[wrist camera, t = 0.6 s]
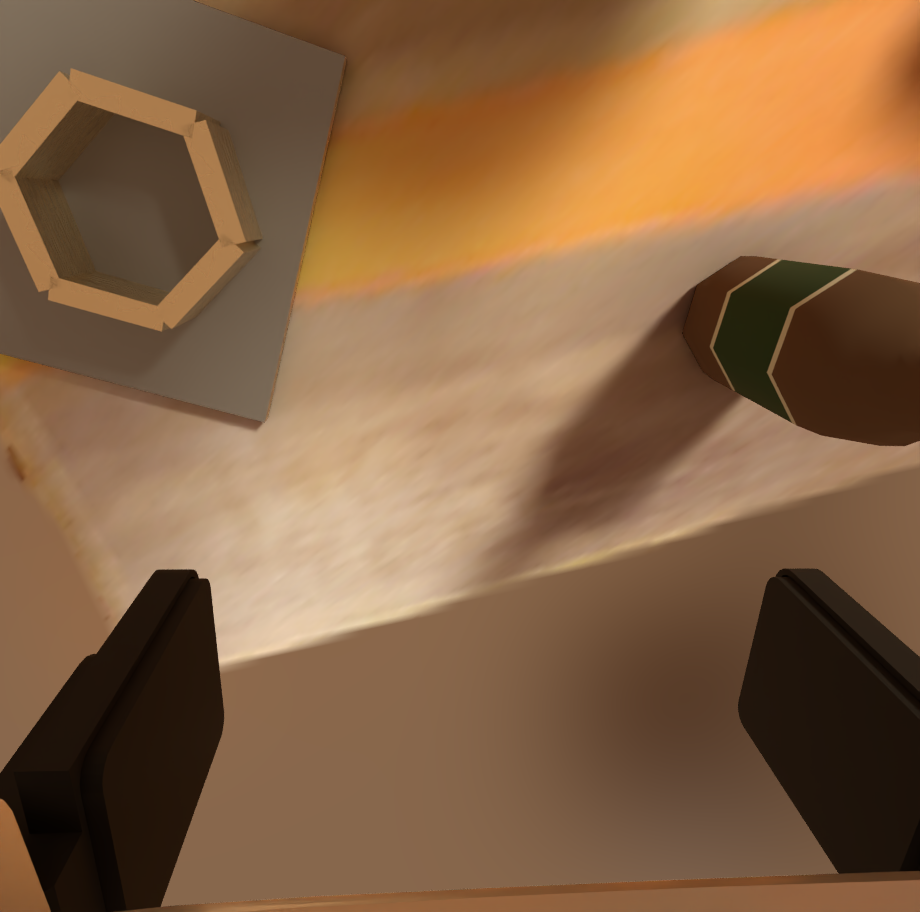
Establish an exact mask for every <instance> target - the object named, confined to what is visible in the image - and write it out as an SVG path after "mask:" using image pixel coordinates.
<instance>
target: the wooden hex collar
mask: <svg viewBox="0 0 920 912" xmlns="http://www.w3.org/2000/svg"><path fill="white" fill-rule="evenodd" d="M115 113H116V114H119V115H122V116H125V117H128V118H131V119H134V120H137V121H140V122H143V123H146V124H149V125H152V126H155V127H158V128H161V129H164V130H167V131H170V132H173V133H176V134H179V135H182V136H184V139H185V142H186V145H187V148H188V151H189V154H190V156H191V159H192V162H193V165H194V168H195V171H196V174H197V177H198V180H199V183H200V186H201V189H202V191H203V194H204V197H205V200H206V203H207V206H208V209H209V212H210V215H211V218H212V221H213V223H214V226H215V229H216V232H217V235H218V238H219V240H218V241H217V242H216V243H215V244H214V245H213V246H212V247H211V248H210V250H209V251H208V252H207V253H206V254H205V255H204V256H203V257H202V258H201V259H200V260H199V261H198V263H197V264H196V265H195V266H194V267H193V268H192V269H191V270H190V271H189V272H188V273H187V274H186V275H185V277H184V278H183V279H182V280H181V281H180V282H179V283H178V284H177V285H176V286H175V287H174V288H173V290H172V291H171V292H167V291H163V290H160V289H156V288H153V287H150V286H146V285H143V284H139V283H136V282H132V281H129V280H125V279H122V278H118V277H115V276H111V275H108V274H104V273H101V272H97V271H96V270H95V267H94V265H93V263H92V260H91V258H90V255H89V253H88V251H87V248H86V246H85V243H84V241H83V239H82V236H81V234H80V231H79V229H78V227H77V224H76V222H75V219H74V217H73V215H72V212H71V210H70V207H69V205H68V203H67V200H66V198H65V195H64V193H63V191H62V188H61V186H60V183H59V179H60V178H61V177H62V176H63V175H64V173H65V172H66V171H67V170H68V169H69V167H70V166H71V165H72V164H73V163H74V162H75V160H76V159H77V158H78V157H79V156H80V154H81V153H82V152H83V151H84V150H85V148H86V147H87V146H88V145H89V144H90V143H91V141H92V140H93V139H94V138H95V137H96V135H97V134H98V133H99V132H100V131H101V129H102V128H103V127H104V126H105V125H106V123H107V122H108V121H109V120H110V119H111V118H112V116H113V115H114V114H115ZM0 208H1V210H2V212H3V215H4V217H5V219H6V221H7V223H8V226H9V228H10V230H11V232H12V234H13V237H14V239H15V241H16V243H17V245H18V248H19V250H20V252H21V254H22V256H23V259H24V261H25V263H26V265H27V268H28V270H29V272H30V274H31V276H32V279H33V281H34V283H35V285H36V287H37V290H38V292H41V291H46V290H49V294H48V300H50V301H53V302H57V303H61V304H64V305H68V306H71V307H75V308H79V309H82V310H86V311H89V312H93V313H97V314H100V315H104V316H107V317H111V318H115V319H118V320H122V321H125V322H129V323H133V324H136V325H140V326H143V327H147V328H151V329H154V330H158V331H161V332H162V331H164V330H166V329H168V328H171V329H173V328H175V327H177V326H179V325H181V324H183V323H185V322H187V321H189V320H191V319H193V318H195V317H197V315H198V314H199V313H200V312H201V311H202V310H203V309H204V308H205V307H206V306H207V305H208V304H209V303H210V302H211V301H212V300H213V299H214V298H215V296H216V295H217V294H218V293H219V292H220V291H221V290H222V289H223V288H224V287H225V286H226V285H227V284H228V283H229V282H230V281H231V280H232V278H233V277H234V276H235V275H236V274H237V273H238V272H239V271H240V270H241V269H242V268H243V267H244V266H245V265H246V264H247V263H248V262H249V261H250V259H251V258H252V257H253V256H254V255H255V254H256V253H257V252H258V251H259V250H260V249H261V248H260V247H259V246H258V245H257V244H256V243H255V242H254V241H255V240H259V239H263V237H262V234H261V231H260V228H259V224H258V221H257V218H256V215H255V212H254V209H253V206H252V203H251V199H250V196H249V193H248V190H247V187H246V184H245V181H244V177H243V174H242V171H241V168H240V165H239V162H238V159H237V156H236V152H235V149H234V146H233V143H232V140H231V137H230V134H229V131H228V130H227V129H224V128H222V127H220V121H218V120H215V119H213V118H211V117H209V116H207V115H205V114H203V113H201V112H199V111H197V110H194V109H191V108H188V107H185V106H182V105H179V104H176V103H173V102H170V101H167V100H164V99H161V98H158V97H155V96H152V95H149V94H146V93H143V92H140V91H137V90H134V89H131V88H128V87H125V86H122V85H119V84H116V83H113V82H110V81H107V80H105V79H102V78H99V77H96V76H93V75H90V74H87V73H84V72H81V71H78V70H75V69H72V68H71V70H70V75H68V74H66V73H63V72H61V71H59V72H58V73H57V74H56V76H55V77H54V78H53V79H52V81H51V82H50V83H49V84H48V86H47V87H46V88H45V89H44V91H43V92H42V93H41V94H40V96H39V97H38V98H37V99H36V100H35V102H34V103H33V104H32V105H31V107H30V108H29V109H28V110H27V112H26V113H25V114H24V115H23V117H22V118H21V119H20V120H19V122H18V123H17V124H16V125H15V127H14V128H13V129H12V130H11V131H10V133H9V134H8V135H7V136H6V138H5V139H4V140H3V141H2V143H1V144H0Z"/></svg>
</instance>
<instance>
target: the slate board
mask: <svg viewBox="0 0 920 912" xmlns="http://www.w3.org/2000/svg"><path fill="white" fill-rule="evenodd" d="M346 62H347V59H346V57H345V56H344V55H341V54H338V53H336V52H333V51H330V50H327V49H325V48H322V47H319V46H316V45H314V44H311V43H308V42H306V41H303V40H300V39H297V38H295V37H292V36H289V35H286V34H284V33H281V32H278V31H275V30H273V29H270V28H267V27H264V26H262V25H259V24H256V23H253V22H251V21H248V20H245V19H242V18H240V17H237V16H234V15H232V14H229V13H226V12H223V11H221V10H218V9H215V8H212V7H210V6H207V5H204V4H201V3H199V2H196V1H193V0H0V144H1V143H2V141H3V140H4V139H5V138H6V136H7V135H8V134H9V133H10V131H11V130H12V129H13V128H14V127H15V125H16V124H17V123H18V122H19V120H20V119H21V118H22V117H23V115H24V114H25V113H26V112H27V110H28V109H29V108H30V107H31V105H32V104H33V103H34V102H35V100H36V99H37V98H38V97H39V96H40V94H41V93H42V92H43V91H44V89H45V88H46V87H47V86H48V84H49V83H50V82H51V81H52V79H53V78H54V77H55V76H56V74H57V73H58V72H59V71H61V72H63V73H66V74H68V75H70V70H71V68H72V69H75V70H78V71H81V72H84V73H87V74H90V75H93V76H96V77H99V78H102V79H105V80H107V81H110V82H113V83H116V84H119V85H122V86H125V87H128V88H131V89H134V90H137V91H140V92H143V93H146V94H149V95H152V96H155V97H158V98H161V99H164V100H167V101H170V102H173V103H176V104H179V105H182V106H185V107H188V108H191V109H194V110H197V111H199V112H201V113H203V114H205V115H207V116H209V117H211V118H213V119H215V120H218V121H220V127H222V128H224V129H227V130H228V131H229V134H230V137H231V140H232V143H233V146H234V149H235V152H236V156H237V159H238V162H239V165H240V168H241V171H242V174H243V177H244V181H245V184H246V187H247V190H248V193H249V196H250V199H251V203H252V206H253V209H254V212H255V215H256V218H257V221H258V224H259V228H260V231H261V234H262V237H263V239H259V240H255V241H254V242H255V243H256V244H257V245H258V246H259V247H260V248H261V249H260V250H259V251H258V252H257V253H256V254H255V255H254V256H253V257H252V258H251V259H250V261H249V262H248V263H247V264H246V265H245V266H244V267H243V268H242V269H241V270H240V271H239V272H238V273H237V274H236V275H235V276H234V277H233V278H232V280H231V281H230V282H229V283H228V284H227V285H226V286H225V287H224V288H223V289H222V290H221V291H220V292H219V293H218V294H217V295H216V296H215V298H214V299H213V300H212V301H211V302H210V303H209V304H208V305H207V306H206V307H205V308H204V309H203V310H202V311H201V312H200V313H199V314H198V315H197V317H195V318H193V319H191V320H189V321H187V322H185V323H183V324H181V325H179V326H177V327H175V328H173V329H171V328H168V329H166V330H164V331H162V332H161V331H158V330H154V329H151V328H147V327H143V326H140V325H136V324H133V323H129V322H125V321H122V320H118V319H115V318H111V317H107V316H104V315H100V314H97V313H93V312H89V311H86V310H82V309H79V308H75V307H71V306H68V305H64V304H61V303H57V302H53V301H50V300H48V294H49V290H46V291H41V292H38V290H37V287H36V285H35V283H34V281H33V279H32V276H31V274H30V272H29V270H28V268H27V265H26V263H25V261H24V259H23V256H22V254H21V252H20V250H19V248H18V245H17V243H16V241H15V239H14V237H13V234H12V232H11V230H10V228H9V226H8V223H7V221H6V219H5V217H4V215H3V212H2V210H1V208H0V354H4V355H8V356H11V357H15V358H19V359H23V360H27V361H31V362H34V363H38V364H42V365H46V366H50V367H54V368H57V369H61V370H65V371H69V372H73V373H77V374H80V375H84V376H88V377H92V378H96V379H99V380H103V381H107V382H111V383H115V384H119V385H122V386H126V387H130V388H134V389H138V390H142V391H145V392H149V393H153V394H157V395H161V396H165V397H168V398H172V399H176V400H180V401H184V402H188V403H191V404H195V405H199V406H203V407H207V408H211V409H214V410H218V411H222V412H226V413H230V414H233V415H237V416H241V417H245V418H249V419H253V420H256V421H260V422H264V423H265V421H266V420H267V419H268V416H269V411H270V407H271V402H272V398H273V393H274V388H275V384H276V379H277V375H278V370H279V366H280V361H281V357H282V352H283V348H284V343H285V339H286V334H287V330H288V325H289V321H290V316H291V312H292V307H293V302H294V298H295V293H296V289H297V284H298V280H299V275H300V271H301V266H302V262H303V257H304V253H305V248H306V244H307V239H308V235H309V230H310V225H311V221H312V216H313V212H314V207H315V203H316V198H317V194H318V189H319V185H320V180H321V176H322V171H323V167H324V162H325V158H326V153H327V149H328V144H329V139H330V135H331V130H332V126H333V121H334V117H335V112H336V108H337V103H338V99H339V94H340V90H341V85H342V81H343V76H344V72H345V67H346ZM59 183H60V186H61V188H62V191H63V193H64V195H65V198H66V200H67V203H68V205H69V207H70V210H71V212H72V215H73V217H74V219H75V222H76V224H77V227H78V229H79V231H80V234H81V236H82V239H83V241H84V243H85V246H86V248H87V251H88V253H89V255H90V258H91V260H92V263H93V265H94V267H95V270H96V271H97V272H101V273H104V274H108V275H111V276H115V277H118V278H122V279H125V280H129V281H132V282H136V283H139V284H143V285H146V286H150V287H153V288H156V289H160V290H163V291H167V292H171V291H172V290H173V288H174V287H175V286H176V285H177V284H178V283H179V282H180V281H181V280H182V279H183V278H184V277H185V275H186V274H187V273H188V272H189V271H190V270H191V269H192V268H193V267H194V266H195V265H196V264H197V263H198V261H199V260H200V259H201V258H202V257H203V256H204V255H205V254H206V253H207V252H208V251H209V250H210V248H211V247H212V246H213V245H214V244H215V243H216V242H217V241H218V240H219V238H218V235H217V232H216V229H215V226H214V223H213V221H212V218H211V215H210V212H209V209H208V206H207V203H206V200H205V197H204V194H203V191H202V189H201V186H200V183H199V180H198V177H197V174H196V171H195V168H194V165H193V162H192V159H191V156H190V154H189V151H188V148H187V145H186V142H185V139H184V136H182V135H179V134H176V133H173V132H170V131H167V130H164V129H161V128H158V127H155V126H152V125H149V124H146V123H143V122H140V121H137V120H134V119H131V118H128V117H125V116H122V115H119V114H116V113H115V114H114V115H113V116H112V118H111V119H110V120H109V121H108V122H107V123H106V125H105V126H104V127H103V128H102V129H101V131H100V132H99V133H98V134H97V135H96V137H95V138H94V139H93V140H92V141H91V143H90V144H89V145H88V146H87V147H86V148H85V150H84V151H83V152H82V153H81V154H80V156H79V157H78V158H77V159H76V160H75V162H74V163H73V164H72V165H71V166H70V167H69V169H68V170H67V171H66V172H65V173H64V175H63V176H62V177H61V178H60V179H59Z"/></svg>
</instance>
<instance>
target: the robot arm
mask: <svg viewBox="0 0 920 912" xmlns="http://www.w3.org/2000/svg"><path fill="white" fill-rule="evenodd" d="M738 712H739V717H740V720H741V723H742V724H743V726H744V728H745V729H746V731H747V733H748V734H749V736H750V737H751V739H752V740H753V742H754V743H755V745H756V747H757V748H758V750H759V751H760V753H761V754H762V756H763V757H764V759H765V760H766V762H767V764H768V765H769V767H770V768H771V770H772V771H773V773H774V774H775V776H776V777H777V779H778V781H779V782H780V784H781V785H782V787H783V788H784V790H785V791H786V793H787V794H788V796H789V798H790V799H791V800H792V802H793V804H794V805H795V807H796V808H797V810H798V811H799V813H800V815H801V816H802V818H803V819H804V821H805V822H806V824H807V825H808V827H809V828H810V830H811V831H812V833H813V834H814V836H815V838H816V839H817V841H818V842H819V844H820V845H821V847H822V848H823V850H824V852H825V853H826V855H827V856H828V858H829V859H830V861H831V862H832V864H833V865H834V867H835V869H836V870H837V872H838V873H839V874H816V875H788V876H763V877H762V876H760V877H733V878H709V879H684V880H659V881H635V882H613V883H612V882H611V883H588V884H566V885H543V886H520V887H499V888H476V889H456V890H437V891H415V892H394V893H374V894H353V895H333V896H313V897H297V898H281V899H266V900H252V901H236V902H220V903H205V904H191V905H176V906H166V907H160V906H161V904H162V901H163V898H164V895H165V892H166V890H167V887H168V883H169V881H170V878H171V876H172V873H173V870H174V867H175V864H176V862H177V859H178V856H179V853H180V850H181V848H182V845H183V842H184V839H185V836H186V833H187V831H188V828H189V825H190V822H191V820H192V816H193V814H194V811H195V808H196V806H197V802H198V800H199V797H200V794H201V792H202V788H203V786H204V783H205V780H206V778H207V775H208V772H209V769H210V766H211V764H212V761H213V758H214V755H215V752H216V750H217V747H218V744H219V741H220V738H221V735H222V731H223V724H224V708H223V698H222V689H221V680H220V671H219V661H218V652H217V643H216V633H215V624H214V615H213V606H212V596H211V587H210V583H209V580H208V579H199V577H198V574H197V572H196V571H195V570H156V571H155V572H154V573H153V574H152V576H151V577H150V579H149V580H148V582H147V583H146V584H145V586H144V587H143V589H142V590H141V591H140V593H139V594H138V596H137V597H136V599H135V600H134V601H133V603H132V604H131V606H130V607H129V609H128V610H127V611H126V613H125V614H124V616H123V617H122V618H121V620H120V621H119V623H118V624H117V626H116V627H115V628H114V630H113V631H112V633H111V634H110V635H109V637H108V638H107V640H106V641H105V643H104V644H103V645H102V647H101V648H100V650H99V651H98V653H97V654H92V655H90V656H87V657H86V658H85V659H84V660H83V661H82V662H81V663H80V664H79V666H78V667H77V668H76V670H75V671H74V672H73V674H72V675H71V676H70V678H69V679H68V681H67V682H66V683H65V685H64V686H63V688H62V689H61V690H60V692H59V693H58V694H57V696H56V697H55V699H54V700H53V701H52V703H51V704H50V705H49V707H48V708H47V710H46V711H45V712H44V714H43V715H42V716H41V718H40V719H39V721H38V722H37V723H36V725H35V726H34V727H33V729H32V730H31V732H30V733H29V735H28V736H27V737H26V738H25V740H24V741H23V743H22V744H21V745H20V747H19V748H18V749H17V751H16V752H15V754H14V755H13V756H12V758H11V759H10V761H9V762H8V763H7V765H6V766H5V767H4V769H3V771H2V772H1V773H0V912H920V657H919V656H918V655H917V654H916V653H914V652H913V651H912V650H911V649H910V648H909V647H907V646H906V645H905V644H904V643H903V642H902V641H901V640H899V639H898V638H897V637H896V636H895V635H894V634H893V633H891V632H890V631H889V630H888V629H887V628H886V627H885V626H884V625H882V624H881V623H880V622H879V621H878V620H877V619H876V618H874V617H873V616H872V615H871V614H870V613H869V612H868V611H866V610H865V609H864V608H863V607H862V606H861V605H860V604H858V603H857V602H856V601H855V600H854V599H853V598H852V597H850V596H849V595H848V594H847V593H846V592H845V591H844V590H842V589H841V588H840V587H839V586H838V585H837V584H836V583H834V582H833V581H832V580H831V579H830V578H829V577H828V576H826V575H825V574H824V573H823V572H822V571H820V570H818V569H782V570H780V571H779V572H778V573H777V575H776V577H772V578H770V579H769V581H768V582H767V585H766V589H765V593H764V597H763V601H762V605H761V609H760V614H759V618H758V622H757V626H756V630H755V635H754V639H753V643H752V648H751V651H750V656H749V660H748V664H747V668H746V672H745V676H744V681H743V685H742V689H741V694H740V697H739V702H738Z"/></svg>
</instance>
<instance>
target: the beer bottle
mask: <svg viewBox="0 0 920 912" xmlns="http://www.w3.org/2000/svg"><path fill="white" fill-rule="evenodd" d="M682 334H683V336H684V338H685V339H686V341H687V343H688V345H689V347H690V349H691V351H692V352H693V354H694V356H695V358H696V360H697V362H698V364H699V366H700V367H701V369H702V371H703V372H704V373H705V374H707V375H708V376H709V377H711V378H712V379H714V380H715V381H717V382H719V383H721V384H722V385H724V386H726V387H728V388H730V389H732V390H733V391H735V392H737V393H739V394H741V395H742V396H744V397H746V398H748V399H750V400H751V401H753V402H755V403H757V404H759V405H761V406H762V407H764V408H766V409H768V410H770V411H771V412H773V413H775V414H777V415H779V416H781V417H782V418H784V419H786V420H788V421H790V422H791V423H793V424H795V425H797V426H799V427H802V428H804V429H807V430H809V431H812V432H814V433H817V434H819V435H822V436H828V437H833V438H839V439H845V440H850V441H856V442H862V443H867V444H873V445H879V446H906V445H909V444H912V443H914V442H917V441H920V283H917V282H912V281H908V280H903V279H898V278H894V277H889V276H885V275H880V274H875V273H871V272H866V271H861V270H857V269H849V268H841V267H833V266H826V265H818V264H810V263H802V262H795V261H787V260H779V259H771V258H764V257H756V256H740V257H739V258H737V259H736V260H734V261H733V262H731V263H730V264H728V265H727V266H725V267H724V268H722V269H721V270H719V271H718V272H716V273H715V274H713V275H712V276H710V277H709V278H707V279H706V280H704V281H702V282H701V283H699V284H698V285H697V287H696V290H695V294H694V297H693V300H692V303H691V306H690V310H689V313H688V316H687V319H686V323H685V326H684V329H683V332H682Z"/></svg>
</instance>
